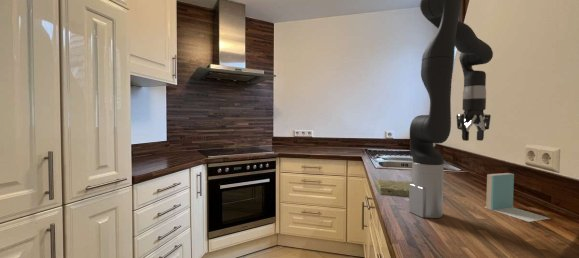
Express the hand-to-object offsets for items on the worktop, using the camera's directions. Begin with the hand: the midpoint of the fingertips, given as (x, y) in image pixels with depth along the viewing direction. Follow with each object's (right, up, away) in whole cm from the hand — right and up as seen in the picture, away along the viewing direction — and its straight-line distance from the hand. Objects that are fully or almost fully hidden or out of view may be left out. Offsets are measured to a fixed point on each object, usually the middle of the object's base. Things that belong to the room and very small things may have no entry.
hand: (472, 140), depth 104 cm
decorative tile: (-23, -24, +13) cm, 36 cm away
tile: (+2, -24, -10) cm, 26 cm away
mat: (+4, -24, -15) cm, 29 cm away
